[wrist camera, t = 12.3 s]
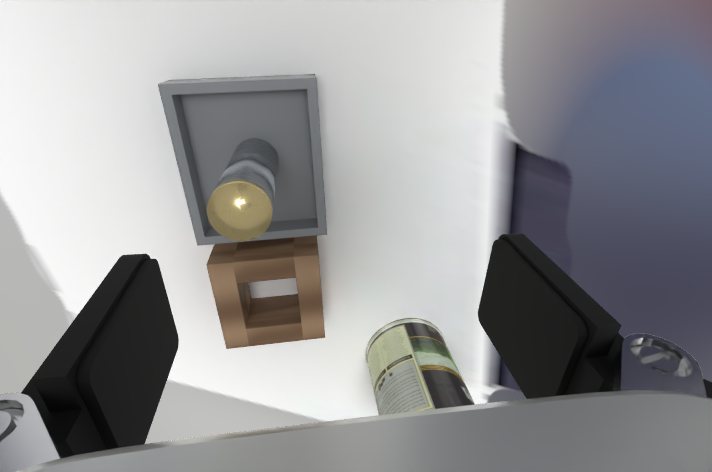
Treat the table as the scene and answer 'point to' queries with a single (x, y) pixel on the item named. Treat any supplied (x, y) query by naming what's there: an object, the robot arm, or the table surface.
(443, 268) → the table surface
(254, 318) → the block
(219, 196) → the steel pin
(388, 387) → the coffee can
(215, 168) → the tray
